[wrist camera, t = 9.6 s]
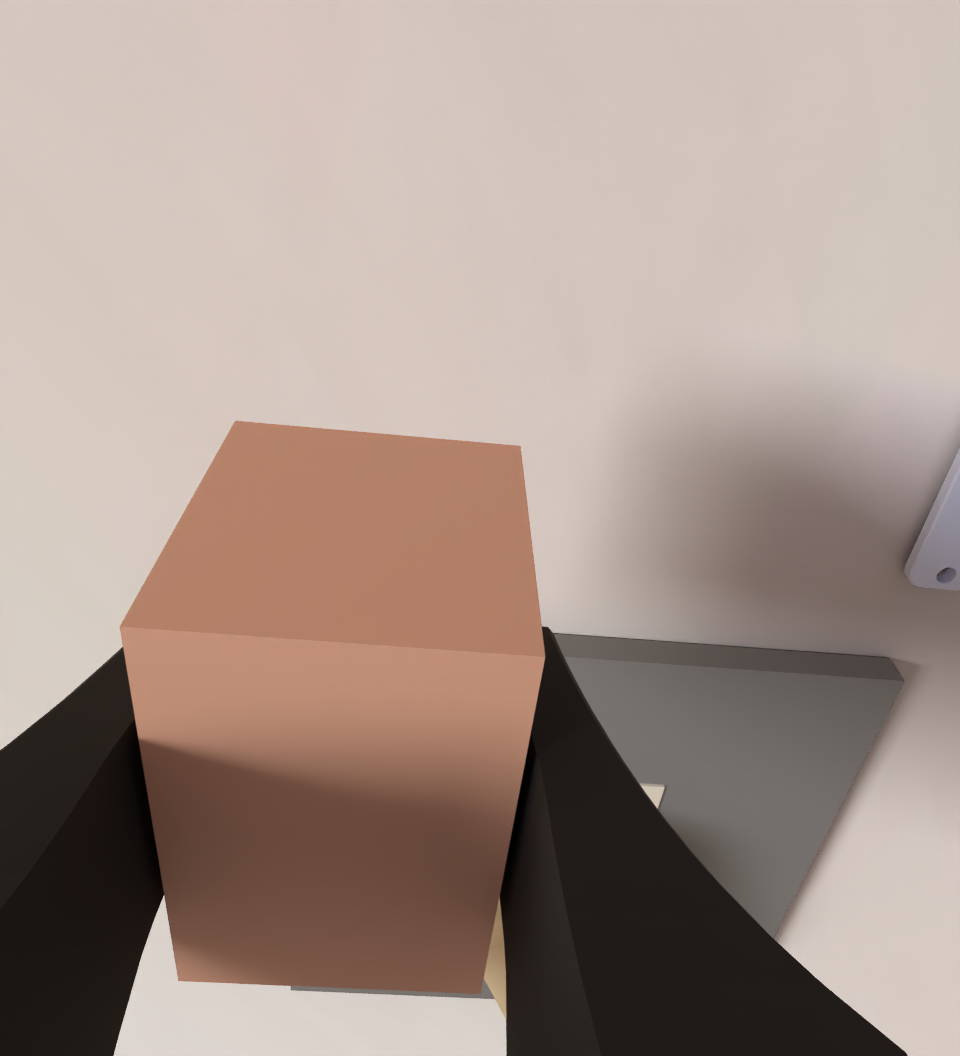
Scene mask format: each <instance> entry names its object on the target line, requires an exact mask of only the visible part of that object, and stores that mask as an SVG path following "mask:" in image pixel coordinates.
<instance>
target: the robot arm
mask: <svg viewBox="0 0 960 1056" xmlns="http://www.w3.org/2000/svg"><path fill="white" fill-rule="evenodd" d="M944 568H948V569H947V570H946V572H944V573H942V574H939V575H937V574H938V573H939V572H940V571H941V570H942V569H944ZM904 572H905V576H906V577H907V579H908V580H909V581H910V582H911V583H912V584H913V585H914V586H916V587H920V588H931V589H943V590H956V591H960V448H959V450H958V452H957V455H956V457H955V459H954V461H953V463H952V465H951V468H950V470H949V472H948V474H947V476H946V478H945V480H944V483H943V485H942V487H941V489H940V491H939V493H938V496H937V498H936V500H935V502H934V504H933V506H932V509H931V511H930V513H929V515H928V517H927V519H926V522H925V524H924V526H923V528H922V530H921V532H920V535H919V537H918V539H917V541H916V543H915V545H914V548H913V550H912V552H911V554H910V556H909V558H908V561H907V563H906V565H905V569H904ZM542 633H543V642H544V650H545V661H544V666H543V672H542V677H541V682H540V687H539V692H538V698H537V703H536V708H535V713H534V719H533V724H532V729H531V734H530V739H529V745H528V750H527V755H526V760H525V765H524V771H523V776H522V781H521V786H520V791H519V797H518V802H517V807H516V812H515V818H514V823H513V828H512V833H511V838H510V844H509V849H508V854H507V859H506V864H505V870H504V875H503V880H502V885H501V891H500V906H501V916H502V926H503V936H504V950H505V967H506V1035H507V1056H907V1054H906V1053H905V1052H904V1051H903V1050H902V1049H901V1048H900V1047H898V1046H897V1045H896V1044H895V1043H893V1042H892V1041H891V1040H890V1039H889V1038H887V1037H886V1036H885V1035H884V1034H883V1033H881V1032H880V1031H879V1030H878V1029H876V1028H875V1027H874V1026H873V1025H872V1024H870V1023H869V1022H868V1021H867V1020H866V1019H864V1018H863V1017H862V1016H861V1015H859V1014H858V1013H857V1012H856V1011H855V1010H853V1009H852V1008H851V1007H850V1006H849V1005H847V1004H846V1003H845V1002H844V1001H843V1000H841V999H840V998H839V997H838V996H836V995H835V994H834V993H833V992H832V991H830V990H829V989H828V988H827V987H826V986H824V985H823V984H822V983H821V982H820V981H819V980H818V979H816V978H815V977H814V976H813V975H812V974H811V973H810V972H809V971H808V970H807V969H806V968H804V967H803V966H802V965H801V964H800V963H799V962H798V961H797V960H796V959H795V958H794V957H793V956H791V955H790V954H789V953H788V952H787V951H786V950H785V949H784V948H783V947H782V946H781V945H780V944H778V943H777V942H776V941H775V940H774V939H773V938H772V937H771V936H770V935H769V934H768V933H767V932H766V931H765V930H764V929H763V928H762V927H761V925H760V924H759V923H758V922H757V921H756V920H755V919H754V918H753V917H752V916H751V915H750V914H749V913H748V912H747V911H746V910H745V909H744V908H743V907H742V906H741V905H740V904H739V903H738V902H737V901H736V900H735V899H734V898H733V897H732V896H731V895H730V894H729V893H728V892H727V891H726V890H725V889H724V888H723V886H722V885H721V884H720V883H719V882H718V881H717V880H716V879H715V878H714V877H713V875H712V874H711V873H710V872H709V871H708V870H707V869H706V867H705V866H704V865H703V864H702V863H701V862H700V860H699V859H698V858H697V857H696V856H695V855H694V854H693V852H692V851H691V850H690V849H689V848H688V847H687V845H686V844H685V843H684V842H683V840H682V839H681V838H680V837H679V835H678V834H677V833H676V832H675V830H674V829H673V828H672V827H671V826H670V824H669V823H668V822H667V821H666V819H665V818H664V817H663V815H662V814H661V813H660V811H659V810H658V809H657V807H656V806H655V805H654V803H653V802H652V801H651V799H650V798H649V797H648V795H647V794H646V792H645V791H644V790H643V788H642V787H641V785H640V784H639V782H638V781H637V780H636V778H635V777H634V775H633V774H632V772H631V771H630V769H629V768H628V767H627V765H626V764H625V762H624V761H623V759H622V758H621V756H620V754H619V753H618V751H617V750H616V748H615V747H614V745H613V744H612V742H611V740H610V739H609V737H608V735H607V734H606V732H605V730H604V729H603V727H602V725H601V724H600V722H599V721H598V719H597V717H596V716H595V714H594V712H593V711H592V709H591V707H590V705H589V704H588V702H587V700H586V698H585V696H584V695H583V693H582V691H581V689H580V687H579V685H578V683H577V682H576V680H575V678H574V676H573V674H572V672H571V670H570V668H569V666H568V664H567V662H566V660H565V658H564V656H563V654H562V651H561V649H560V647H559V645H558V643H557V640H556V638H555V636H554V634H553V633H552V631H551V630H550V629H549V628H548V627H542ZM163 896H164V890H163V884H162V878H161V872H160V866H159V860H158V854H157V848H156V842H155V836H154V830H153V824H152V818H151V812H150V806H149V800H148V794H147V788H146V782H145V775H144V769H143V763H142V757H141V751H140V745H139V739H138V733H137V727H136V721H135V715H134V709H133V703H132V697H131V691H130V685H129V679H128V673H127V667H126V661H125V655H124V649H123V647H122V648H121V649H120V650H119V651H118V652H117V653H116V654H114V655H113V656H112V657H111V658H110V659H109V660H108V661H107V662H106V663H105V664H103V665H102V666H101V667H100V668H99V669H98V670H97V671H96V672H94V673H93V674H92V675H91V676H90V677H89V678H88V679H86V680H85V681H84V682H83V683H82V684H81V685H80V686H79V687H77V688H76V689H75V690H74V691H73V692H72V693H71V694H69V695H68V696H67V697H66V698H65V699H64V700H62V701H61V702H60V703H59V704H58V705H57V706H55V707H54V708H53V709H52V710H50V711H49V712H48V713H47V714H45V715H44V716H43V717H42V718H40V719H39V720H38V721H37V722H35V723H34V724H33V725H32V726H30V727H29V728H28V729H27V730H25V731H24V732H23V733H22V734H20V735H19V736H18V737H17V738H15V739H14V740H13V741H12V742H10V743H9V744H8V745H7V746H5V747H4V748H3V749H1V750H0V1056H113V1055H114V1051H115V1047H116V1043H117V1040H118V1036H119V1032H120V1029H121V1025H122V1022H123V1018H124V1015H125V1011H126V1008H127V1004H128V1001H129V997H130V994H131V990H132V987H133V983H134V980H135V976H136V973H137V969H138V966H139V962H140V959H141V956H142V953H143V950H144V947H145V944H146V941H147V938H148V935H149V932H150V930H151V927H152V924H153V921H154V918H155V916H156V913H157V911H158V908H159V906H160V903H161V901H162V898H163Z"/></svg>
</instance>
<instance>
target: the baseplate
mask: <svg viewBox="0 0 960 1056" xmlns="http://www.w3.org/2000/svg"><path fill="white" fill-rule="evenodd" d="M554 636H555V638H556V640H557V643H558V645H559V647H560V649H561V651H562V654H563V656H564V658H565V660H566V662H567V664H568V666H569V668H570V670H571V672H572V674H573V676H574V678H575V680H576V682H577V683H578V685H579V687H580V689H581V691H582V693H583V695H584V696H585V698H586V700H587V702H588V704H589V705H590V707H591V709H592V711H593V712H594V714H595V716H596V717H597V719H598V721H599V722H600V724H601V725H602V727H603V729H604V730H605V732H606V734H607V735H608V737H609V739H610V740H611V742H612V744H613V745H614V747H615V748H616V750H617V751H618V753H619V754H620V756H621V758H622V759H623V761H624V762H625V764H626V765H627V767H628V768H629V769H630V771H631V772H632V774H633V775H634V777H635V778H636V780H637V781H638V782H639V784H640V785H641V787H642V788H643V790H644V791H645V792H646V794H647V795H648V797H649V798H650V799H651V801H652V802H653V803H654V805H655V806H656V807H657V809H658V810H659V811H660V813H661V814H662V815H663V817H664V818H665V819H666V821H667V822H668V823H669V824H670V826H671V827H672V828H673V829H674V830H675V832H676V833H677V834H678V835H679V837H680V838H681V839H682V840H683V842H684V843H685V844H686V845H687V847H688V848H689V849H690V850H691V851H692V852H693V854H694V855H695V856H696V857H697V858H698V859H699V860H700V862H701V863H702V864H703V865H704V866H705V867H706V869H707V870H708V871H709V872H710V873H711V874H712V875H713V877H714V878H715V879H716V880H717V881H718V882H719V883H720V884H721V885H722V886H723V888H724V889H725V890H726V891H727V892H728V893H729V894H730V895H731V896H732V897H733V898H734V899H735V900H736V901H737V902H738V903H739V904H740V905H741V906H742V907H743V908H744V909H745V910H746V911H747V912H748V913H749V914H750V915H751V916H752V917H753V918H754V919H755V920H756V921H757V922H758V923H759V924H760V925H761V927H762V928H763V929H764V930H765V931H766V932H767V933H768V934H769V935H770V936H771V937H772V938H773V939H774V937H775V935H776V933H777V931H778V929H779V927H780V925H781V923H782V921H783V919H784V917H785V915H786V913H787V911H788V909H789V907H790V906H791V904H792V902H793V900H794V898H795V896H796V894H797V892H798V890H799V888H800V886H801V884H802V882H803V880H804V878H805V876H806V874H807V872H808V870H809V868H810V866H811V864H812V862H813V860H814V858H815V856H816V854H817V852H818V850H819V848H820V846H821V844H822V842H823V841H824V839H825V837H826V835H827V833H828V831H829V829H830V827H831V825H832V823H833V821H834V819H835V817H836V815H837V813H838V811H839V809H840V807H841V805H842V803H843V801H844V799H845V797H846V795H847V793H848V791H849V789H850V787H851V785H852V783H853V781H854V779H855V778H856V776H857V774H858V772H859V770H860V768H861V766H862V764H863V762H864V760H865V758H866V756H867V754H868V752H869V750H870V748H871V746H872V744H873V742H874V740H875V738H876V736H877V734H878V732H879V730H880V728H881V726H882V724H883V722H884V720H885V718H886V716H887V715H888V713H889V711H890V709H891V707H892V705H893V703H894V701H895V699H896V697H897V695H898V693H899V691H900V689H901V687H902V685H903V683H904V679H903V678H902V676H901V675H900V673H899V672H898V670H897V669H896V667H895V666H894V664H893V662H892V661H891V659H890V658H882V657H869V656H855V655H841V654H827V653H814V652H800V651H786V650H773V649H759V648H745V647H732V646H718V645H704V644H690V643H677V642H663V641H649V640H636V639H622V638H608V637H595V636H581V635H567V634H554ZM291 990H298V991H321V992H345V993H368V994H391V995H414V996H437V997H460V998H483V999H495V998H494V996H493V994H492V992H491V991H490V989H489V987H488V985H487V983H486V981H485V980H484V979H483V984H482V990H481V994H465V993H442V992H420V991H397V990H374V989H352V988H329V987H307V986H291Z"/></svg>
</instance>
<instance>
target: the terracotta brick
mask: <svg viewBox="0 0 960 1056" xmlns="http://www.w3.org/2000/svg"><path fill="white" fill-rule="evenodd" d="M120 631H121V637H122V643H123V649H124V655H125V661H126V667H127V673H128V679H129V685H130V691H131V697H132V703H133V709H134V715H135V721H136V727H137V733H138V739H139V745H140V751H141V757H142V763H143V769H144V775H145V782H146V788H147V794H148V800H149V806H150V812H151V818H152V824H153V830H154V836H155V842H156V848H157V854H158V860H159V866H160V872H161V878H162V884H163V890H164V896H165V902H166V908H167V914H168V920H169V926H170V932H171V938H172V944H173V950H174V957H175V963H176V969H177V975H178V981H193V982H216V983H239V984H261V985H284V986H307V987H329V988H352V989H374V990H397V991H420V992H442V993H465V994H481V990H482V984H483V979H484V974H485V969H486V964H487V958H488V953H489V948H490V943H491V937H492V932H493V927H494V922H495V917H496V911H497V906H498V901H499V896H500V891H501V885H502V880H503V875H504V870H505V864H506V859H507V854H508V849H509V844H510V838H511V833H512V828H513V823H514V818H515V812H516V807H517V802H518V797H519V791H520V786H521V781H522V776H523V771H524V765H525V760H526V755H527V750H528V745H529V739H530V734H531V729H532V724H533V719H534V713H535V708H536V703H537V698H538V692H539V687H540V682H541V677H542V672H543V666H544V661H545V650H544V642H543V633H542V625H541V617H540V608H539V600H538V591H537V583H536V574H535V566H534V557H533V549H532V540H531V532H530V523H529V515H528V506H527V498H526V490H525V481H524V473H523V464H522V456H521V447H520V446H514V445H503V444H492V443H480V442H469V441H458V440H446V439H435V438H424V437H412V436H401V435H390V434H378V433H367V432H356V431H344V430H333V429H321V428H310V427H299V426H287V425H276V424H265V423H253V422H242V421H235V422H234V424H233V426H232V428H231V430H230V431H229V433H228V435H227V437H226V438H225V440H224V442H223V444H222V446H221V447H220V449H219V451H218V453H217V454H216V456H215V458H214V460H213V462H212V463H211V465H210V467H209V469H208V471H207V472H206V474H205V476H204V478H203V479H202V481H201V483H200V485H199V487H198V488H197V490H196V492H195V494H194V495H193V497H192V499H191V501H190V503H189V504H188V506H187V508H186V510H185V511H184V513H183V515H182V517H181V519H180V520H179V522H178V524H177V526H176V528H175V529H174V531H173V533H172V535H171V536H170V538H169V540H168V542H167V544H166V545H165V547H164V549H163V551H162V552H161V554H160V556H159V558H158V560H157V561H156V563H155V565H154V567H153V568H152V570H151V572H150V574H149V576H148V577H147V579H146V581H145V583H144V585H143V586H142V588H141V590H140V592H139V593H138V595H137V597H136V599H135V601H134V602H133V604H132V606H131V608H130V609H129V611H128V613H127V615H126V617H125V618H124V620H123V622H122V624H121V626H120Z"/></svg>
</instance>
